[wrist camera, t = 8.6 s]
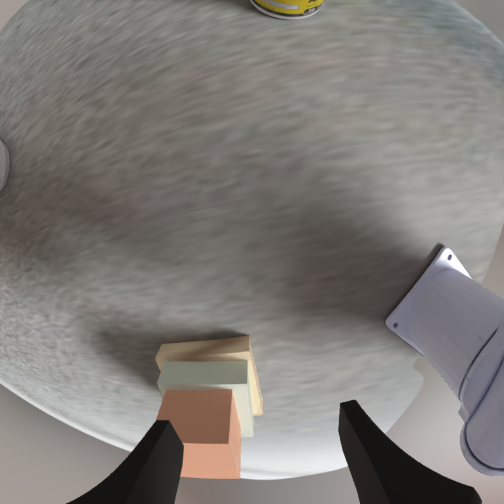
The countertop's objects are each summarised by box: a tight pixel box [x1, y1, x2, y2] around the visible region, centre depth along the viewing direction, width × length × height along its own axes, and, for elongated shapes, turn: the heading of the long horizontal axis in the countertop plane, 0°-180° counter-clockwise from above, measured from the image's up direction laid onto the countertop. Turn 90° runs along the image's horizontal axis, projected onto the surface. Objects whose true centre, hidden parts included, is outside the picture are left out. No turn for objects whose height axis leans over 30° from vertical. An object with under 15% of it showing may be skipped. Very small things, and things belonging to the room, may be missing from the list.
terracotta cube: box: [156, 390, 241, 479], centre depth 15 cm, size 4×4×4 cm
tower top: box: [157, 360, 253, 437], centre depth 19 cm, size 6×6×2 cm
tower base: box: [155, 335, 263, 416], centre depth 21 cm, size 7×7×2 cm
